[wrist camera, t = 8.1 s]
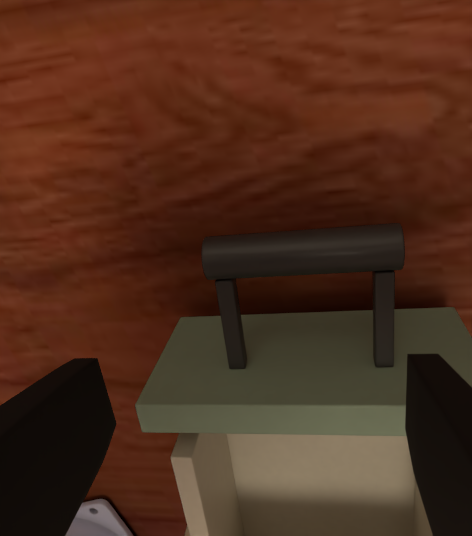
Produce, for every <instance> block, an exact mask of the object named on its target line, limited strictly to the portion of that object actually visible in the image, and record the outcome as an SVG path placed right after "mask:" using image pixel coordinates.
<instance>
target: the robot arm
mask: <svg viewBox="0 0 472 536" xmlns="http://www.w3.org/2000/svg"><path fill="white" fill-rule="evenodd" d="M115 426H116V420H115V417H114V413H113V410H112V407H111V403H110V400H109V396H108V393H107V390H106V386H105V383H104V379H103V376H102V373H101V369H100V366H99V362H98V359H97V358H78V359H73V360H71V361H69V362H67V363H66V364H64V365H62V366H60V367H59V368H57V369H56V370H54V371H52V372H51V373H49V374H48V375H46V376H45V377H43V378H42V379H40V380H39V381H37V382H35V383H34V384H32V385H31V386H29V387H28V388H26V389H25V390H23V391H22V392H20V393H19V394H17V395H16V396H14V397H13V398H11V399H10V400H8V401H7V402H5V403H4V404H2V405H1V406H0V536H134V535H133V534H132V533H131V531H130V530H129V529H128V527H127V526H126V525H125V523H124V522H123V521H122V519H121V518H120V517H119V515H118V514H117V513H116V511H115V510H114V509H113V507H112V506H111V505H110V503H109V502H108V501H107V500H105V499H96V500H92V501H87V502H83V501H84V499H85V497H86V495H87V493H88V491H89V489H90V487H91V485H92V483H93V481H94V479H95V477H96V475H97V473H98V471H99V469H100V467H101V465H102V463H103V460H104V458H105V455H106V452H107V450H108V447H109V444H110V441H111V438H112V435H113V432H114V429H115ZM405 430H406V436H407V441H408V447H409V452H410V457H411V462H412V467H413V472H414V476H415V479H416V483H417V486H418V489H419V492H420V496H421V499H422V502H423V505H424V509H425V512H426V515H427V518H428V522H429V525H430V528H431V531H432V534H433V536H472V387H471V386H470V385H469V384H468V383H467V382H466V381H465V380H464V379H463V378H462V377H461V376H460V375H459V374H458V373H457V372H456V371H455V370H454V369H453V368H452V367H451V366H450V365H449V364H448V363H447V362H446V361H445V360H444V359H443V358H442V357H441V356H440V355H439V354H407V384H406V416H405Z"/></svg>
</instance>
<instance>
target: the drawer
mask: <svg viewBox="0 0 472 536" xmlns="http://www.w3.org/2000/svg"><path fill="white" fill-rule="evenodd" d="M201 255H202V266H203V271H204V274H205V276H206V278H207V279H208V280H215V279H216V281H215V285H216V291H217V297H218V304H219V310H220V316H198V317H181V318H180V319H179V321H178V323H177V325H176V327H175V329H174V331H173V333H172V335H171V337H170V339H169V341H168V343H167V344H166V346H165V348H164V350H163V352H162V354H161V356H160V358H159V360H158V362H157V364H156V366H155V368H154V369H153V371H152V373H151V375H150V377H149V379H148V381H147V383H146V385H145V387H144V389H143V391H142V393H141V395H140V396H139V398H138V400H137V402H136V404H135V408H136V412H137V415H138V419H139V422H140V426H141V430H142V432H157V433H179V435H178V438H177V441H176V444H175V446H174V449H173V452H172V455H171V462H172V466H173V470H174V474H175V478H176V482H177V486H178V490H179V494H180V498H181V502H182V506H183V510H184V514H185V518H186V522H187V526H188V530H189V534H190V536H433V534H432V531H431V528H430V525H429V522H428V518H427V515H426V512H425V509H424V505H423V502H422V499H421V496H420V492H419V489H418V486H417V483H416V479H415V476H414V472H413V467H412V462H411V457H410V452H409V447H408V441H407V436H406V430H405V416H406V384H407V354H439V355H440V356H441V357H442V358H443V359H444V360H445V361H446V362H447V363H448V364H449V365H450V366H451V367H452V368H453V369H454V370H455V371H456V372H457V373H458V374H459V375H460V376H461V377H462V378H463V379H464V380H465V381H466V382H467V383H468V384H469V385H470V386H471V387H472V337H471V336H470V334H469V332H468V330H467V329H466V327H465V325H464V323H463V322H462V320H461V318H460V316H459V315H458V313H457V311H456V310H455V308H454V307H444V308H417V309H394V305H395V272H394V270H401V269H402V268H403V266H404V259H405V246H404V236H403V230H402V227H401V225H400V224H399V223H392V224H378V225H364V226H350V227H336V228H322V229H308V230H294V231H280V232H266V233H253V234H239V235H225V236H211V237H205V238H204V240H203V243H202V253H201ZM367 271H372V279H373V310H362V311H335V312H307V313H280V314H253V315H241V313H240V306H239V299H238V292H237V285H236V278H253V277H272V276H291V275H310V274H329V273H348V272H367Z"/></svg>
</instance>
